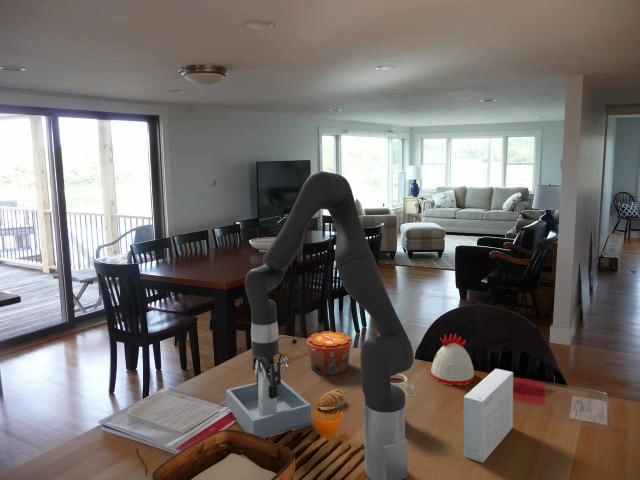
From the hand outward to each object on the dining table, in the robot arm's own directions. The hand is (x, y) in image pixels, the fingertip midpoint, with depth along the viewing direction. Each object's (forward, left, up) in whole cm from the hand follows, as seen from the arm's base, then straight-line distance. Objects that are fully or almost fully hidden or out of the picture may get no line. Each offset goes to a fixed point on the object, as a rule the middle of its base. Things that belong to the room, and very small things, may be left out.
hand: (266, 392), depth 146 cm
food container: (+21, -33, -8) cm, 40 cm away
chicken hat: (-7, -64, -8) cm, 65 cm away
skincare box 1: (0, 0, -7) cm, 7 cm away
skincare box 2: (-41, -44, -8) cm, 61 cm away
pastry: (-3, -20, -8) cm, 21 cm away
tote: (0, 0, -8) cm, 8 cm away
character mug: (-21, -29, -8) cm, 37 cm away
